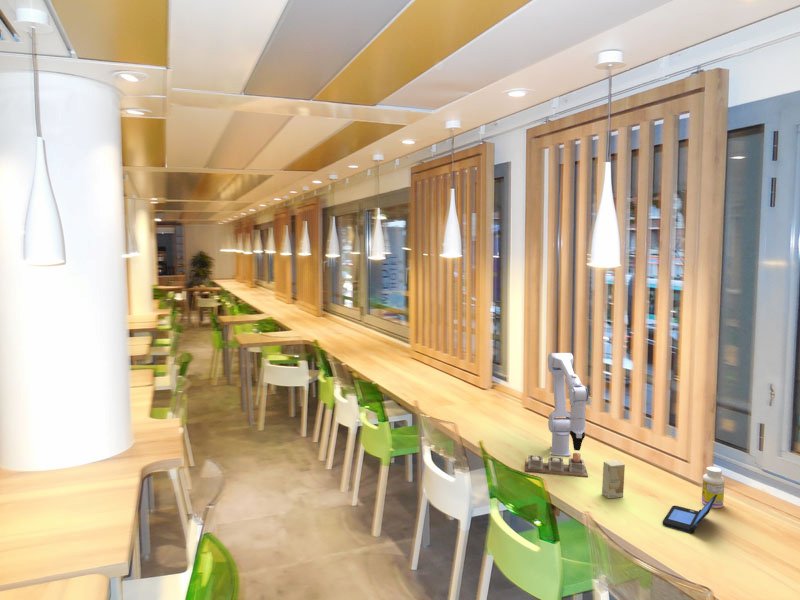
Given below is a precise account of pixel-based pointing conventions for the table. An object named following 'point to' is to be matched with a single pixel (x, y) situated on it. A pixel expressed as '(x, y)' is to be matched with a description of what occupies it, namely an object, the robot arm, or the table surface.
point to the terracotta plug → (576, 457)
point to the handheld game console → (687, 517)
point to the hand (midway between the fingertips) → (576, 449)
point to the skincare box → (613, 479)
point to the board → (555, 467)
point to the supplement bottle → (713, 487)
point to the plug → (535, 458)
